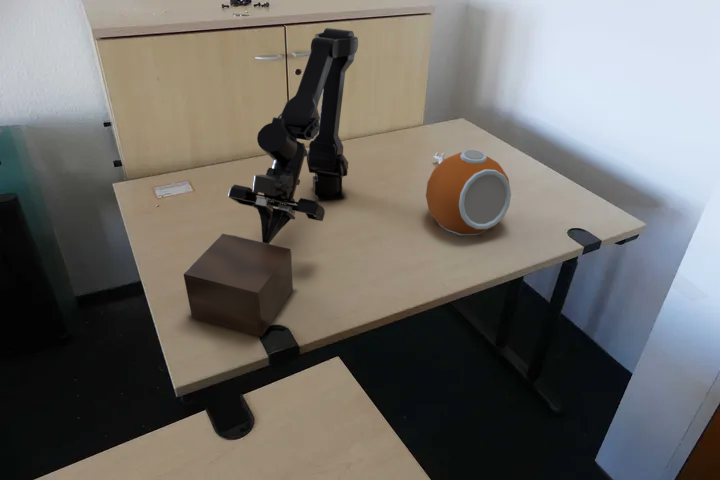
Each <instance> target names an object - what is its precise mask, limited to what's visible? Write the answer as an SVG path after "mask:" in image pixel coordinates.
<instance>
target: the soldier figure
mask: <svg viewBox="0 0 720 480" xmlns="http://www.w3.org/2000/svg"><path fill="white" fill-rule="evenodd" d="M439 154H440V153H439V152H438V151H437V152H435V154H434V155H433V156H432V159H435V160H436V161H437V163H438V165H439V164H440V163H441V162H442V161H443V160H444V159H445V152H441V156H439Z"/></svg>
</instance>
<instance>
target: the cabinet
mask: <svg viewBox="0 0 720 480" xmlns="http://www.w3.org/2000/svg"><path fill="white" fill-rule="evenodd" d="M231 235H232V234H225V233H222V234H221V235H219V236H218V237H217V238H216V239H215V241H214V242H213V243H212V244H211V245H210V246H209V247H208V248H207V249H206V250H205V251H203V253H202V254H201V255H200V257H198V258H197V259H196V260H195V261H194V262H193V264H192V265H190V266H189V267H188V268H187V270H186V271H185V272H184V273H183V279H184V285H185V289H186V295H187V300H188V305H189V310H190V315H191V318H192V319H195V320H200V321H203V322H205V323H206V322H207V323H210V324H213V325H217V326H221V327H225V328H229V329H232V330H236V331H239V332H243V333H247V334H249V335H254V336H257V337H261V338H262V337H264V335H265V334H266V332H267V331H268V329H269V328H270V326H271V325H272V323H274V320H275V319H276V317H277V316H278V314H279V313H280V311H281V310H282V308H283V307H284V306H285V304H286V303H287V301H288V300H289V298H290V297H291V295H292V294H293V292H294V286H293V265H292V262H293V261H292V249H291V248H290V249H288V248H289V247H285V248H283V247H284V246H281V247H279V246H280V245H277V246H275V245H276V244H272V245H270V244H271V243H269V244H266V243H261V242H262V241H259V242H257V241H258V240H255V241H253V240H254V239H250V240H248V239H249V238H246V239H244V238H245V237H242V238H240V237H241V236H237V237H235V236H236V235H233V236H231Z"/></svg>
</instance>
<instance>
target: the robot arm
mask: <svg viewBox="0 0 720 480" xmlns="http://www.w3.org/2000/svg"><path fill="white" fill-rule="evenodd" d="M358 48H359V38H358V36H355V32H354V31H353V30H349V29H348V30H347V29H341V28H332V27H331V28H330V27H325V28H324V30H323V32H319V33H318V32H317V33H315V34H314V37H313V38H312V39H311V43H310V54H309V56H308V59H307V62H306V65H305V68H304V70H303V73H302V77H301V79H300V82H299V85H298V88H297V91H296V93H295V95H294V96H293V97H291V98H290V99H289V100H288V101H286V102H285V105H284V107H283V109H282V111H281V112H280V114H279V115H278V117H275V116H274V117H272V120H271V122H270V123H267V124H265V125H264V126H263V127H262V128H261V129H260V130H259V131H258V133H257V137H256V139H257V144H258V146H259V147H260V149H261V150H262V151H263V152H264V153H266V154H267V155H268V156H269V157H270V159H272V160H273V161H272V164H271V167H268V168H267V170H266V173H265V174H254V176H253V183H252V184H253V185H252V188H251V187H250V186H244V185H239V184H233V185H232V186H231V187H230V188H229V190H228V193H227V198H229V199H231V200H232V201H234V202H236V203H237V204H239V205H243V206H247V207H252V208H254V209H255V210H257V212H258V215H259V219H260V226H261V227H260V228H261V242H263V243H268V244H271V243H272V241H273V240H274V239H275V238H276V236H277V234H278V233H279V232H280V231H281V230H282V229H283V228H284V227H285V226H286V225H287V224H288V223H289V222H290V221H291V220H294V221H295V220H296V216H295V215H296V212H297V213H302V214H305V215H306V217H307V218H308V219H309V220H314V221H319V222H324V218H325V214H326V213H325V212H326V211H325V208H324V206H323V205H322V204H320V202H323V201H330V200H337V199H338V200H339V199H344V197H345V196H344V193H343V178H344V177H347V176H348V170H349V161H348V159H347V158H346V157H345V155H344V145H343V142H342V140H341V138H340V136H339V132H340V131H339V130H340V124H341V123H340V122H341V114H342V113H341V112H342V105H343V96H344V87H345V79H346V72H347V71H348V69H349V68H350V66H351V65H352V64H353V62H354V60H355V55H356V54H357V52H358ZM320 100H321V105H320V113H319V110H318V106H319V102H320ZM299 140H303V141H310V142H309V145H308V150H307V149H306V145H305V143H304V142H300V141H299ZM305 158H306V164H307V169H308V172H309V173H310V174H314V175H313V176H312V191H313V193H314V195H315V197H316V199H317V200H318V201H319V202H318V201H317V200H313V199H307V198H303V197H300V198H299V199H298V200H297V201H296V199H295V198H294V197H295V193H296V190H297V186H300V183H301V179H299V178H300V175H301V172H302V168H303V164H304V160H305Z"/></svg>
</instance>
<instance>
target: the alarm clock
mask: <svg viewBox="0 0 720 480" xmlns="http://www.w3.org/2000/svg"><path fill="white" fill-rule="evenodd" d="M511 197H512V192H511V186H510V179H509V177H508V176H507V173H506V172H505V171H504V169H503V167H502V166H501V165H500V163H499V162H498V161H496V160H494V159H493V158H491V157H490V156H487V155H486V153H484V152H483V151H480V150H478V149H477V150H476V149H466V150H463V151H462V152H458V153H455V154H453V155H451V156H447V157H446V158H444V160H443V161H442V162H441V163H440V164H439V163H438V165H437V166H436V167H434V169H433V170H432V172H431V174H430V177H429V178H428V180H427V182H426V191H425V198H426V203H427V208H428V211H429V213H430V214H431V216H432V217H433V219H434V220H435V221H436V223H437V224H438V225H439V226H440V227H442V228H443V229H444V230H446V231H447V232H450V233H453V234H455V235H458V236H478V235H481V234H482V233H484V232H486V231H488V230H490V229H493V228H494V227H495V226H497V224H498V223H499V222H500V221H502V219H503V218H504V217H505V216H506V214H507V212H508V210H509V208H510V204H511Z"/></svg>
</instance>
